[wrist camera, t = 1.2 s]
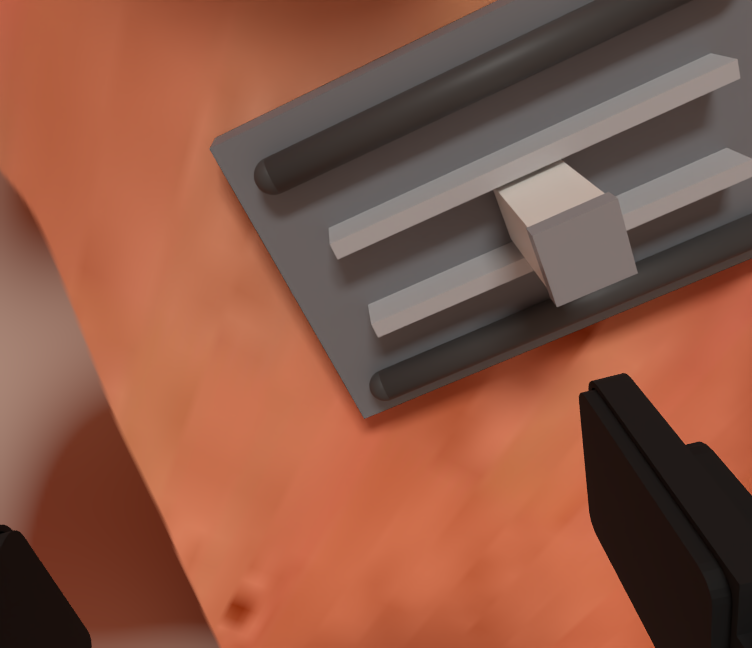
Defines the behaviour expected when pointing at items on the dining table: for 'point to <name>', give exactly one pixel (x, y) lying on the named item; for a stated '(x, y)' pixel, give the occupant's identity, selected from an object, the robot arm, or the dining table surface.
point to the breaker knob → (567, 231)
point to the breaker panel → (499, 178)
